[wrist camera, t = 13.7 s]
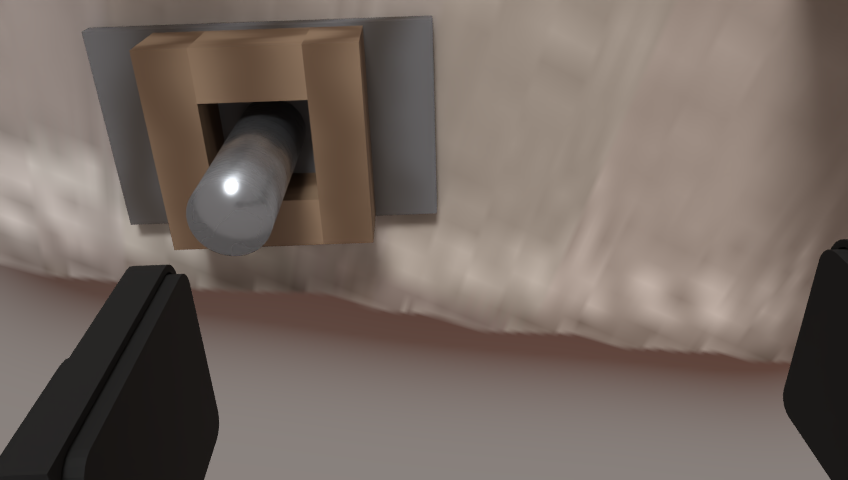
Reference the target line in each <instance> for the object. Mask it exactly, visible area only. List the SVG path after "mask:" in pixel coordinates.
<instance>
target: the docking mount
mask: <svg viewBox="0 0 848 480" xmlns="http://www.w3.org/2000/svg"><path fill="white" fill-rule="evenodd" d="M82 35H83V39H84V43H85V47H86V51H87V55H88V59H89V62H90V66H91V70H92V74H93V78H94V82H95V86H96V90H97V94H98V98H99V102H100V105H101V109H102V113H103V117H104V121H105V125H106V129H107V133H108V137H109V141H110V145H111V148H112V152H113V156H114V160H115V164H116V168H117V172H118V176H119V180H120V184H121V188H122V192H123V195H124V199H125V203H126V207H127V211H128V215H129V219H130V223H131V225H133V224H160V223H168V224H169V228H170V232H171V237H172V241H173V246H174V250H185V249H208V248H207V247H205V246H204V245H203V244H201V243H200V242H199V241H198V240H197V239H196V238H195V236H194V235H193V234H192V232H191V230H190V228H189V226H188V223H187V219H186V208H187V204H188V201H189V199H190V197H191V195H192V193H193V192H194V190H195V189H196V187H197V185H198V184H199V182H200V181H201V179H202V177H203V176H204V174H205V173H206V171H207V169H208V168H209V166H210V165H211V163H212V162H213V160H214V158H215V157H216V155H217V154H218V152H219V150H220V149H221V147H222V146H223V144H224V142H225V141H226V139H227V138H228V136H229V134H230V133H231V131H232V130H233V128H234V126H235V125H236V123H237V122H238V120H239V118H240V117H241V115H242V114H243V112H244V110H245V109H246V108H247V107H248V106H249V105H250V104H251V103H252V102H263V101H287V102H288V103H290V104H291V105H293V106H294V107H295V108H296V109H297V110H298V111H299V112H300V114H301V116H302V117H303V120H304V122H305V127H306V136H305V140H304V143H303V146H302V149H301V151H300V154H299V157H298V160H297V162H296V165H295V168H294V171H293V173H292V176H291V179H290V182H289V185H288V187H287V190H286V193H285V196H284V198H283V201H282V204H281V207H280V209H279V212H278V215H277V218H276V221H275V223H274V226H273V229H272V232H271V234H270V237H269V238H268V240H267V241H266V242H265V244H264V245H263V246H262V247H265V246H292V245H319V244H346V243H372V242H373V240H374V227H375V216H376V215H403V214H430V213H437V195H436V153H435V111H434V68H433V26H432V16H411V17H383V18H354V19H326V20H298V21H270V22H242V23H214V24H185V25H157V26H129V27H101V28H87V29H86V30H84V31H82Z"/></svg>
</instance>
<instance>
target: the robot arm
mask: <svg viewBox="0 0 848 480" xmlns="http://www.w3.org/2000/svg"><path fill="white" fill-rule="evenodd" d="M783 401H784V407H785V409H786V413H787V414H788V416H789V418H790V419H791V421H792V422H793V424H794V425H795V427H796V428H797V430H798V431H799V433H800V434H801V436H802V437H803V439H804V440H805V442H806V443H807V445H808V446H809V448H810V449H811V451H812V452H813V454H814V455H815V457H816V458H817V460H818V461H819V463H820V464H821V466H822V467H823V469H824V470H825V472H826V473H827V474H828V476H829V477H830V479H831V480H848V239H843V240H839V241H837V242H836V243H835V244H834V245H833V246H832V248H831V250H826V251H824V252H823V254H822V255H821V257H820V259H819V263H818V266H817V270H816V274H815V277H814V281H813V285H812V288H811V292H810V296H809V299H808V303H807V307H806V310H805V314H804V318H803V321H802V325H801V329H800V332H799V336H798V340H797V343H796V347H795V351H794V354H793V358H792V362H791V365H790V369H789V373H788V376H787V380H786V384H785V387H784V392H783ZM218 430H219V416H218V409H217V405H216V400H215V396H214V391H213V386H212V382H211V377H210V373H209V368H208V364H207V359H206V355H205V351H204V346H203V341H202V337H201V333H200V328H199V323H198V319H197V314H196V310H195V305H194V301H193V296H192V291H191V287H190V283H189V280H188V277H187V276H186V275H185V274H176V271H175V270H174V268H173V267H172V266H171V265H149V266H131V267H129V268H128V269H127V270H126V272H125V273H124V275H123V276H122V278H121V279H120V281H119V282H118V284H117V285H116V287H115V289H114V290H113V292H112V293H111V295H110V296H109V298H108V299H107V301H106V302H105V304H104V305H103V307H102V308H101V310H100V311H99V313H98V314H97V316H96V318H95V319H94V321H93V322H92V324H91V325H90V327H89V328H88V330H87V331H86V333H85V335H84V336H83V338H82V339H81V341H80V342H79V343H78V345H77V347H76V348H75V350H74V351H73V353H72V354H71V356H70V357H69V358H68V359H66V360H65V361H64V362H63V363H62V364H61V365H60V366H59V368H58V369H57V371H56V372H55V374H54V375H53V377H52V378H51V380H50V381H49V383H48V384H47V386H46V388H45V389H44V390H43V392H42V394H41V395H40V396H39V398H38V400H37V401H36V402H35V404H34V406H33V407H32V408H31V410H30V412H29V413H28V415H27V416H26V418H25V419H24V421H23V422H22V424H21V425H20V427H19V428H18V430H17V431H16V433H15V434H14V436H13V437H12V439H11V440H10V442H9V443H8V445H7V446H6V448H5V449H4V451H3V453H2V454H1V455H0V480H204V478H205V474H206V472H207V468H208V465H209V462H210V459H211V456H212V453H213V449H214V446H215V443H216V440H217V436H218Z"/></svg>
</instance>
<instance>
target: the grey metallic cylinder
mask: <svg viewBox="0 0 848 480" xmlns="http://www.w3.org/2000/svg"><path fill="white" fill-rule="evenodd" d="M305 136H306V127H305V122H304V120H303V117H302V116H301V114H300V112H299V111H298V110H297V109H296V108H295V107H294V106H293V105H291V104H290V103H288V102H287V101H263V102H252V103H251V104H250V105H249V106H248V107H247V108H246V109H245V110H244V112H243V114H242V115H241V117H240V118H239V120H238V122H237V123H236V125H235V126H234V128H233V130H232V131H231V133H230V134H229V136H228V138H227V139H226V141H225V142H224V144H223V146H222V147H221V149H220V150H219V152H218V154H217V155H216V157H215V158H214V160H213V162H212V163H211V165H210V166H209V168H208V169H207V171H206V173H205V174H204V176H203V177H202V179H201V181H200V182H199V184H198V185H197V187H196V189H195V190H194V192H193V193H192V195H191V197H190V199H189V201H188V204H187V208H186V219H187V223H188V226H189V228H190V230H191V232H192V234H193V235H194V236H195V238H196V239H197V240H198V241H199V242H200V243H201V244H203V245H204V246H205V247H207V248H208V249H210V250H212V251H214V252H217V253H219V254H223V255H229V256H240V255H246V254H249V253H252V252H254V251H256V250H258V249H259V248H260V247H262V246H263V245H264V244H265V242H266V241H267V240H268V238H269V237H270V234H271V232H272V229H273V226H274V223H275V221H276V218H277V215H278V212H279V209H280V207H281V204H282V201H283V198H284V196H285V193H286V190H287V187H288V185H289V182H290V179H291V176H292V173H293V171H294V168H295V165H296V162H297V160H298V157H299V154H300V151H301V149H302V146H303V143H304V140H305Z"/></svg>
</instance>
